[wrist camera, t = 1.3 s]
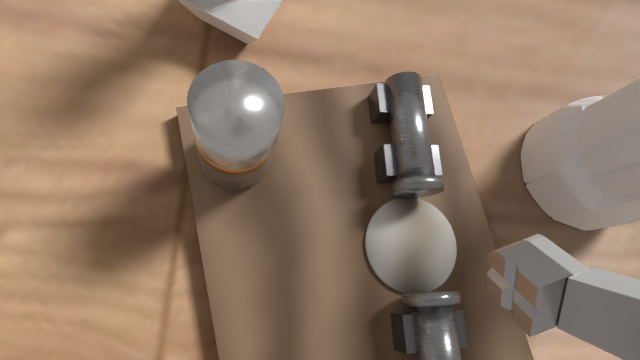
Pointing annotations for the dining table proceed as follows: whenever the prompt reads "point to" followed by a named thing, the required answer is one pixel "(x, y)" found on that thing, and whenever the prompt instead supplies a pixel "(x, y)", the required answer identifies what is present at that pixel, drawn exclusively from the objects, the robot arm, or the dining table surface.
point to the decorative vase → (587, 161)
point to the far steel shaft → (406, 137)
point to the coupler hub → (235, 121)
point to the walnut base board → (342, 240)
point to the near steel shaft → (430, 326)
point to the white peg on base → (235, 15)
